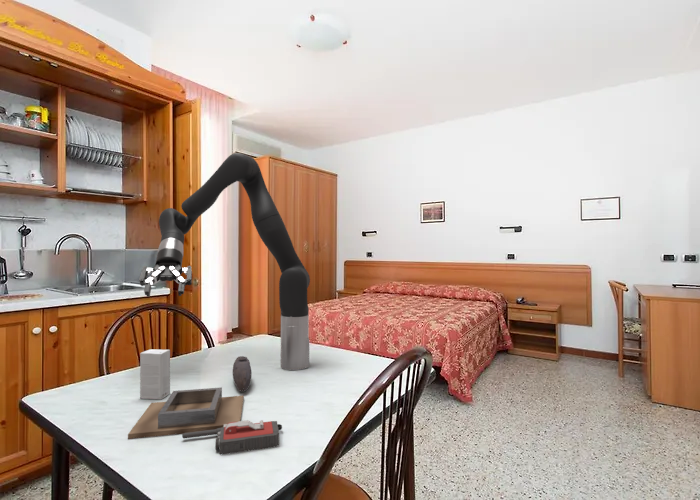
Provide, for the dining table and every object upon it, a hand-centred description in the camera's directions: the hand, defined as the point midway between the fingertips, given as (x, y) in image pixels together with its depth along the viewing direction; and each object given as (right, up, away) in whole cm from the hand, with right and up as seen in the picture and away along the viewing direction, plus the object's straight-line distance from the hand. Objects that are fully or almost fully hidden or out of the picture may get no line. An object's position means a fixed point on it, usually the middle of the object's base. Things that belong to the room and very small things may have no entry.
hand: (163, 294), depth 109 cm
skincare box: (+3, -26, -11) cm, 28 cm away
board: (+18, -26, -23) cm, 39 cm away
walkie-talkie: (+31, -26, -34) cm, 53 cm away
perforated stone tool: (+24, -26, -3) cm, 36 cm away
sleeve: (+18, -26, -23) cm, 39 cm away
